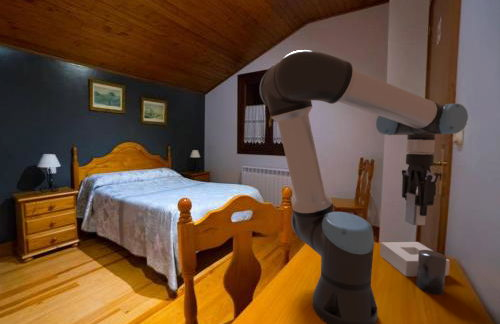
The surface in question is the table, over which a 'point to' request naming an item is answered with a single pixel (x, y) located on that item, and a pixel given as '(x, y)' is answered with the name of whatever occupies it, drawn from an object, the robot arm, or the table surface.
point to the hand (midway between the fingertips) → (415, 222)
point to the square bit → (411, 208)
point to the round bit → (431, 272)
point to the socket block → (405, 256)
